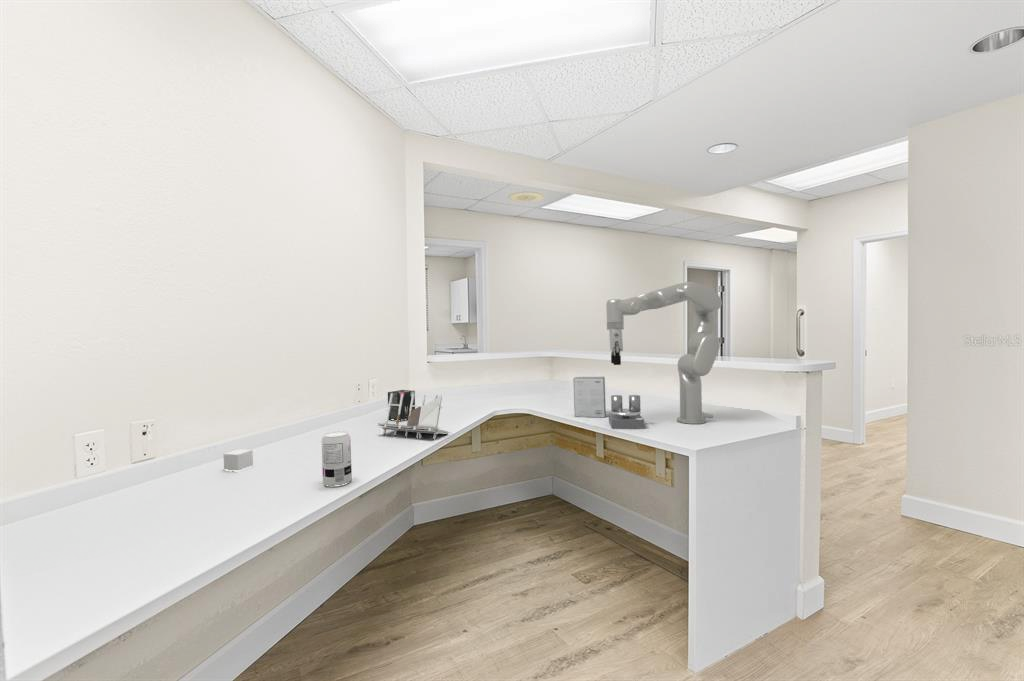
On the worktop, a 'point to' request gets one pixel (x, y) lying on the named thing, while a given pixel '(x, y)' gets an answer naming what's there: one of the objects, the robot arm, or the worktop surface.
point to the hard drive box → (589, 396)
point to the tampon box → (405, 404)
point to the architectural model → (417, 418)
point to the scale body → (626, 422)
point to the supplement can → (336, 458)
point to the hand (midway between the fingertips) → (615, 363)
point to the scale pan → (626, 413)
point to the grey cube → (238, 459)
